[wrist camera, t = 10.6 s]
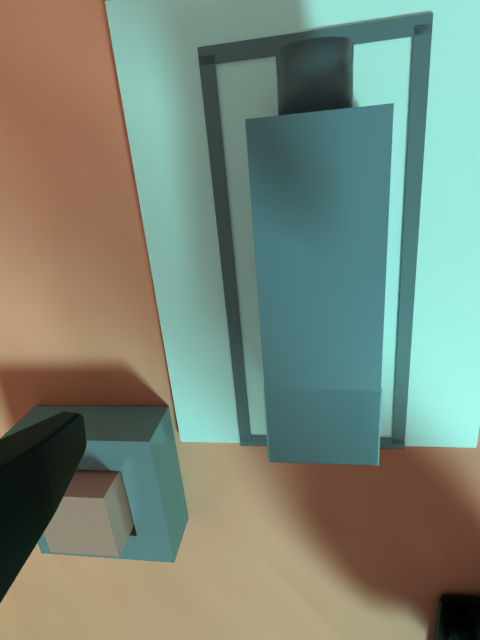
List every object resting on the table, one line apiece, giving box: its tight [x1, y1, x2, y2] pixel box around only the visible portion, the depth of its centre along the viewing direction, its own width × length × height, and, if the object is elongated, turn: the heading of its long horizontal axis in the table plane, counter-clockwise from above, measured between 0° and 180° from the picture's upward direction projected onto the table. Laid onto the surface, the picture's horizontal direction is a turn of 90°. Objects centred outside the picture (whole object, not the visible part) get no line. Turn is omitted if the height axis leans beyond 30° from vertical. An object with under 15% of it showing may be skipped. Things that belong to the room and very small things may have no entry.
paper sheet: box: [105, 0, 480, 449], centre depth 18 cm, size 20×15×1 cm
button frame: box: [0, 406, 188, 563], centre depth 23 cm, size 8×8×3 cm
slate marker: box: [245, 37, 394, 465], centre depth 15 cm, size 14×4×5 cm, turn 5°
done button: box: [44, 469, 134, 557], centre depth 22 cm, size 4×4×3 cm
